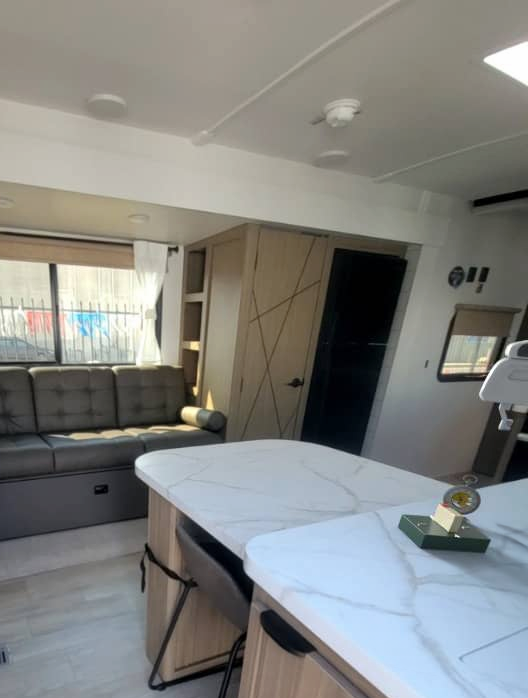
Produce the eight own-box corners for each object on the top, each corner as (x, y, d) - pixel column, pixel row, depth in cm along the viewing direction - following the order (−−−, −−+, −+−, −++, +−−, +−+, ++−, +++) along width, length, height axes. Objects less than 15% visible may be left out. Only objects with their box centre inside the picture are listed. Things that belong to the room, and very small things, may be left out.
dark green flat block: (455, 530, 86) (460, 516, 84) (486, 554, 77) (493, 539, 75) (396, 526, 86) (401, 512, 85) (420, 549, 78) (426, 534, 76)
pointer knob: (457, 532, 78) (464, 515, 76) (448, 532, 78) (455, 514, 76) (440, 520, 83) (447, 503, 81) (432, 519, 83) (438, 502, 81)
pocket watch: (439, 525, 87) (457, 482, 83) (425, 510, 95) (440, 469, 90) (482, 531, 86) (503, 487, 81) (464, 515, 93) (482, 474, 89)
